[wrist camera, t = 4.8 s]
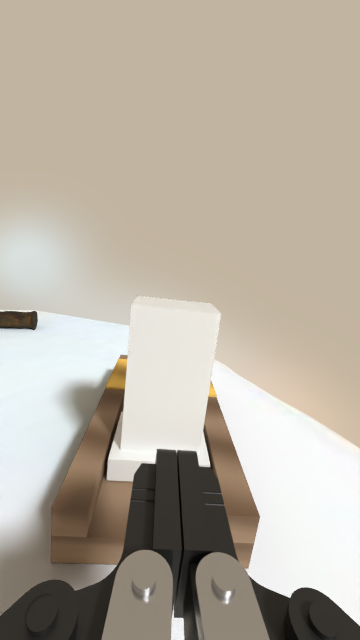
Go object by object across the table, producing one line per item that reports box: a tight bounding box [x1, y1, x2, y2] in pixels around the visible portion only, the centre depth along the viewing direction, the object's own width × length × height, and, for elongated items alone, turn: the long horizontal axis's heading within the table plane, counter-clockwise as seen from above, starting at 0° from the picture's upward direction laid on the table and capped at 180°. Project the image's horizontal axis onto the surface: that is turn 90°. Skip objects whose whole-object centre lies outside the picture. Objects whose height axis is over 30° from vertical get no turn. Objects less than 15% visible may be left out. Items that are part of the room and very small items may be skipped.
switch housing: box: [51, 355, 260, 568], centre depth 28 cm, size 24×12×4 cm, turn 3°
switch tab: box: [107, 296, 221, 482], centre depth 21 cm, size 6×7×13 cm
